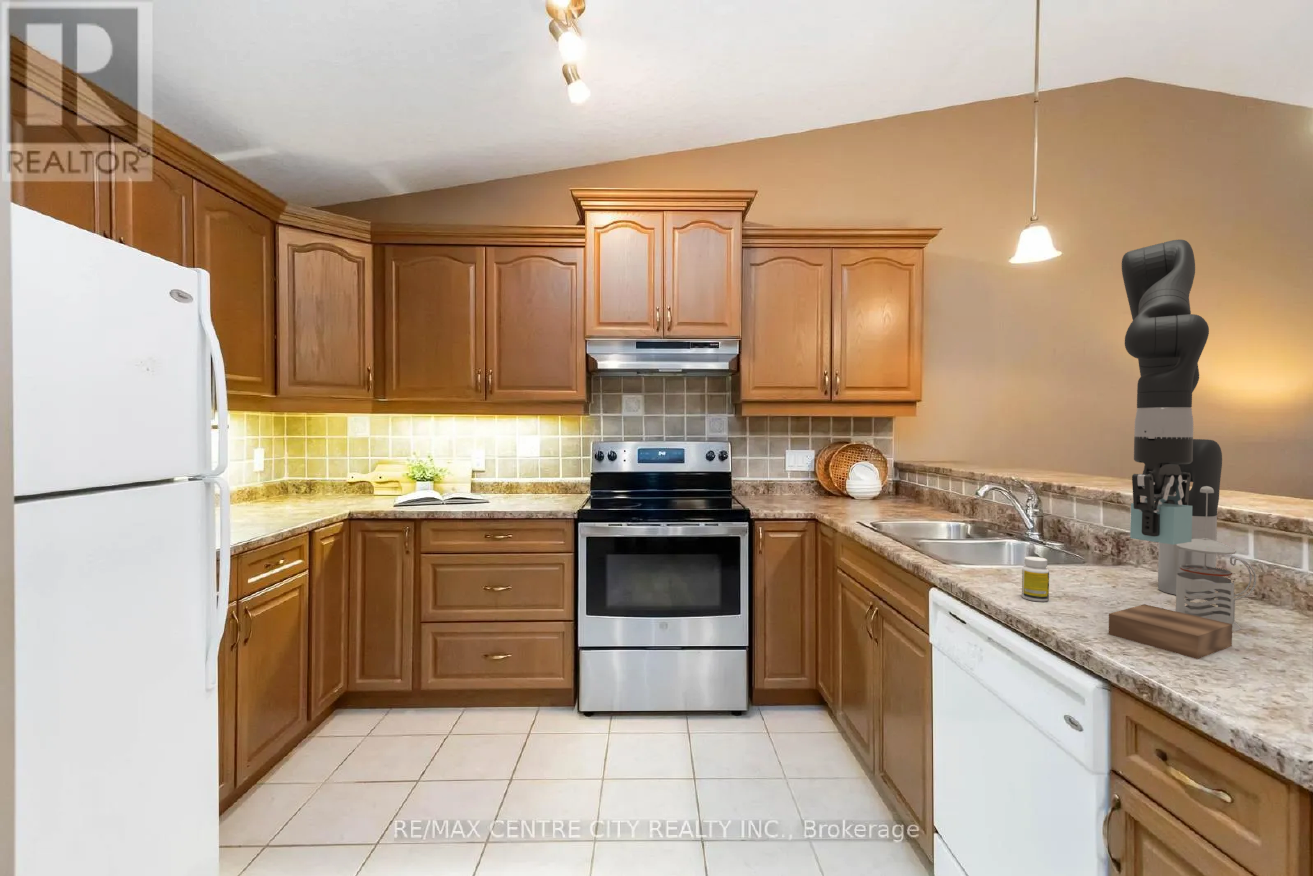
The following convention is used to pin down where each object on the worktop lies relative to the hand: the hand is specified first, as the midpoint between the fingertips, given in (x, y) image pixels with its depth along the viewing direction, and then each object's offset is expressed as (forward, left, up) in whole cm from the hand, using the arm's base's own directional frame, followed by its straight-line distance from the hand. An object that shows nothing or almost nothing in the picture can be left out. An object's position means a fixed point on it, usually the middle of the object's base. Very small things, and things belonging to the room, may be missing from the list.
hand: (1160, 533), depth 99 cm
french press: (-18, 0, -18) cm, 26 cm away
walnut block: (0, +1, -18) cm, 18 cm away
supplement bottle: (-4, -23, -18) cm, 29 cm away
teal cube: (0, 0, -1) cm, 1 cm away
